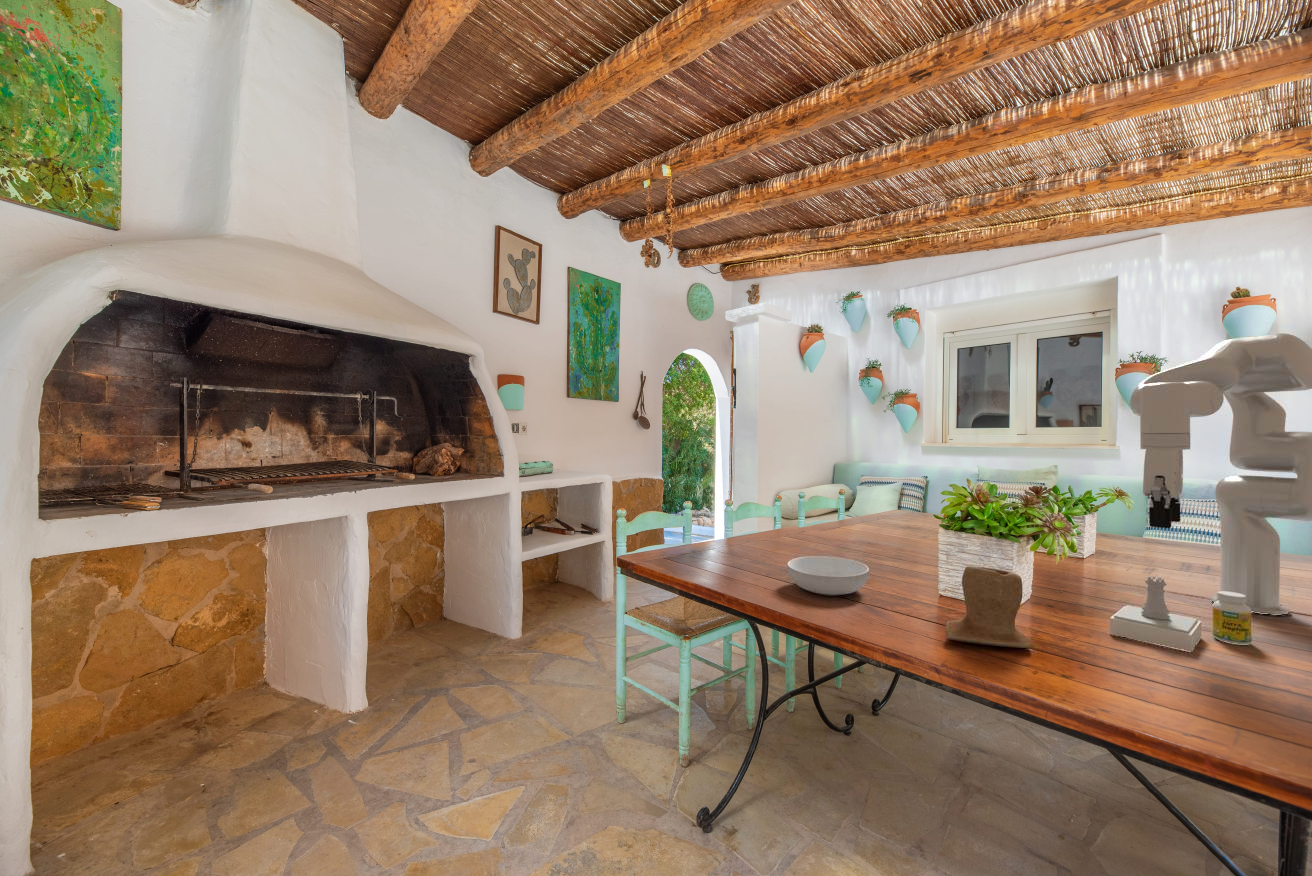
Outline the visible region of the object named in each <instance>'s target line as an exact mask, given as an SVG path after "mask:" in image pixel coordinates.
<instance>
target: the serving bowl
mask: <svg viewBox="0 0 1312 876" xmlns="http://www.w3.org/2000/svg"><path fill="white" fill-rule="evenodd" d="M786 568H787V572H788V575H789V576H790V579H791V580H792V582H793V583H795V585H796V586H798V587H800V588H801V589H803V590H806V591H808V592H811V593H815V594H818V595H823V596H840V595H847V594H852V593H854V592H855V593H856V592H857V591H858V590H861V589H862V588H863V586H865V584H866V583H867V581H868V578H869V575H870V573H869V572H870V569H869V566H868V565H866V564H865V563H862V562H860V561H857V560H853V559H849V558H843V557H837V556H836V557H835V556H827V555H826V556H825V555H824V556H823V555H822V556H821V555H812V556H811V555H809V556H801V557H800V556H799V557H794V558H792V559H790V560H789V561H788V562H787V567H786Z"/></svg>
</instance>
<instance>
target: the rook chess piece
mask: <svg viewBox="0 0 1312 876" xmlns="http://www.w3.org/2000/svg"><path fill="white" fill-rule="evenodd" d="M1145 584H1146V585H1147V587H1146V590H1147V595H1146V600H1145V602H1144V603H1143V605H1141V608H1142V609H1143V610H1144V611H1142V612H1141V613H1142V614H1143V615H1144V616H1145V617H1148V618H1152V619H1157V620H1168V619H1169V618H1170V616H1169V615H1168V614H1169V613H1170V610H1169V609H1168V608H1167V607H1168V606H1167V605H1166V602H1165V597H1164V595H1165V592H1166V590H1164V588H1165V586H1167V583H1166V582H1165V579H1164V578H1162V577H1157V578H1156V576H1152V577H1151V576H1147V579H1146V580H1145ZM1170 614H1171V613H1170Z"/></svg>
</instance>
